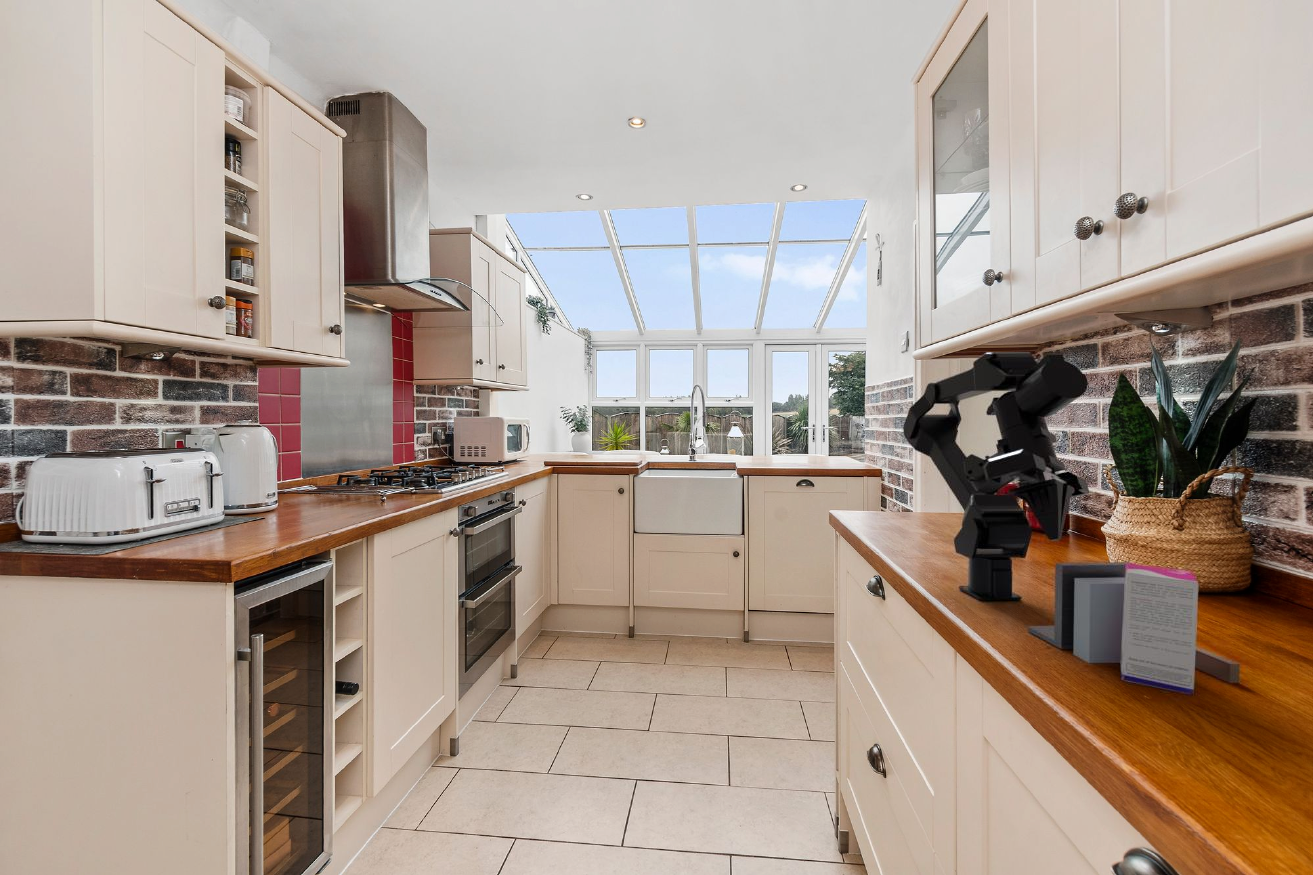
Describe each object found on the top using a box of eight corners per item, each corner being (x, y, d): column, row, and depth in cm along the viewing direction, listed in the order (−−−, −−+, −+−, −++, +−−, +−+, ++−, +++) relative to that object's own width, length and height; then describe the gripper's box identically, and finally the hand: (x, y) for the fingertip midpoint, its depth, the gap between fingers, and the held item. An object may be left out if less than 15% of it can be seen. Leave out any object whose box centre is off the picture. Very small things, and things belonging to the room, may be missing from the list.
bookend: (1027, 630, 77) (1028, 553, 77) (1095, 629, 77) (1096, 552, 77) (1061, 649, 71) (1062, 565, 70) (1135, 647, 71) (1136, 564, 71)
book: (1073, 654, 69) (1074, 578, 69) (1140, 653, 70) (1141, 577, 69) (1088, 663, 67) (1090, 583, 67) (1158, 661, 67) (1159, 582, 67)
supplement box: (1197, 696, 59) (1199, 581, 58) (1120, 680, 62) (1122, 572, 62) (1190, 676, 63) (1192, 569, 63) (1120, 662, 67) (1121, 561, 67)
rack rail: (1114, 631, 77) (1114, 616, 77) (1121, 631, 77) (1122, 616, 77) (1229, 683, 62) (1230, 664, 62) (1239, 683, 62) (1239, 663, 62)
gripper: (996, 461, 95) (1021, 558, 89) (935, 434, 85) (959, 542, 79) (1073, 439, 87) (1107, 544, 81) (1017, 406, 77) (1051, 524, 71)
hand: (1055, 540), depth 78 cm, fingers closed
